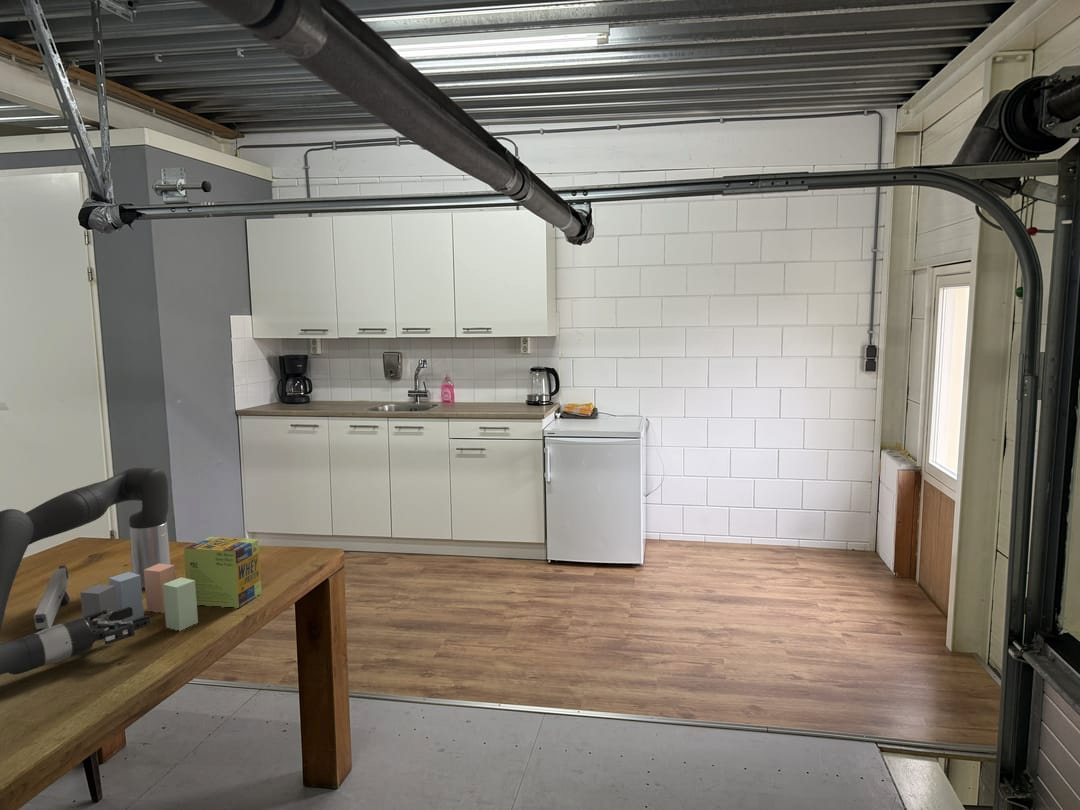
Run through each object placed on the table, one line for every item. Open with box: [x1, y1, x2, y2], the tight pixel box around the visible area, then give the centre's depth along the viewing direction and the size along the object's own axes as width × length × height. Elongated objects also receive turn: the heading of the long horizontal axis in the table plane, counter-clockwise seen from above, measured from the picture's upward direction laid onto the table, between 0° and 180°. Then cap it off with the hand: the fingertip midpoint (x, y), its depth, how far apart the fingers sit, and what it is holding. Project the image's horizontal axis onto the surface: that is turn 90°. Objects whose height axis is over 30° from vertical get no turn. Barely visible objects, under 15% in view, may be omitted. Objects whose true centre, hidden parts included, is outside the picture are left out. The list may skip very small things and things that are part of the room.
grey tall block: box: [79, 584, 117, 629], centre depth 171 cm, size 5×5×11 cm
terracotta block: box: [144, 563, 177, 614], centre depth 185 cm, size 5×5×11 cm
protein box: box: [183, 536, 262, 609], centre depth 190 cm, size 10×15×16 cm
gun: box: [33, 564, 71, 632], centre depth 182 cm, size 2×25×10 cm, turn 21°
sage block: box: [163, 577, 199, 632], centre depth 174 cm, size 5×5×11 cm
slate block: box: [108, 571, 145, 622], centre depth 179 cm, size 5×5×11 cm
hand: (140, 615), depth 167 cm, fingers open, 8 cm apart
